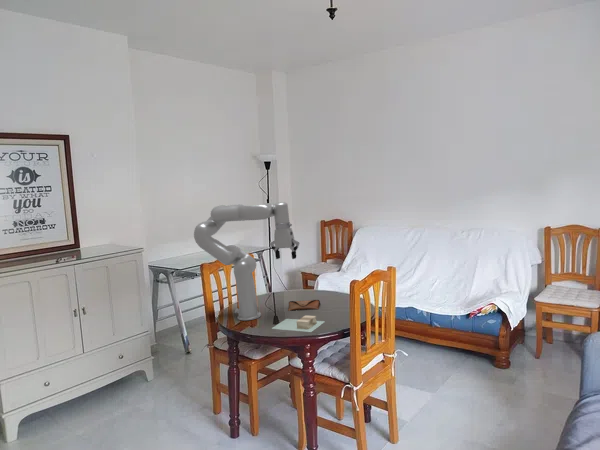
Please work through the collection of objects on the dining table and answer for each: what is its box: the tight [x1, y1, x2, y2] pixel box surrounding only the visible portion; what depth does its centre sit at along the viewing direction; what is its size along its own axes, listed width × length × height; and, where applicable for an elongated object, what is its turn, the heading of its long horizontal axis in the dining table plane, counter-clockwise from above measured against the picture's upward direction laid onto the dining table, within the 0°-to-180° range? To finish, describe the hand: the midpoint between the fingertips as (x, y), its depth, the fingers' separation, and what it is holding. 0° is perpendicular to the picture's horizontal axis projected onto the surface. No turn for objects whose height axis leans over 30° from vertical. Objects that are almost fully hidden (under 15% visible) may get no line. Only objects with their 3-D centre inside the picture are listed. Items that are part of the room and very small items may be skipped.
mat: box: [271, 318, 326, 333], centre depth 225 cm, size 22×15×1 cm
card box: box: [296, 314, 318, 329], centre depth 223 cm, size 9×6×4 cm, turn 151°
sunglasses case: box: [287, 299, 321, 312], centre depth 254 cm, size 18×7×7 cm, turn 83°
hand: (286, 258), depth 241 cm, fingers open, 9 cm apart
